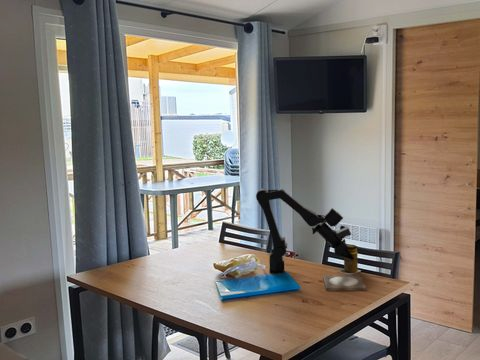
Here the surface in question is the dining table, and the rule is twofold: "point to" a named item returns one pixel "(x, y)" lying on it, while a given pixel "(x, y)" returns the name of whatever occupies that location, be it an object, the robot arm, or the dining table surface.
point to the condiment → (351, 262)
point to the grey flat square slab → (343, 283)
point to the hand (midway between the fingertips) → (352, 257)
